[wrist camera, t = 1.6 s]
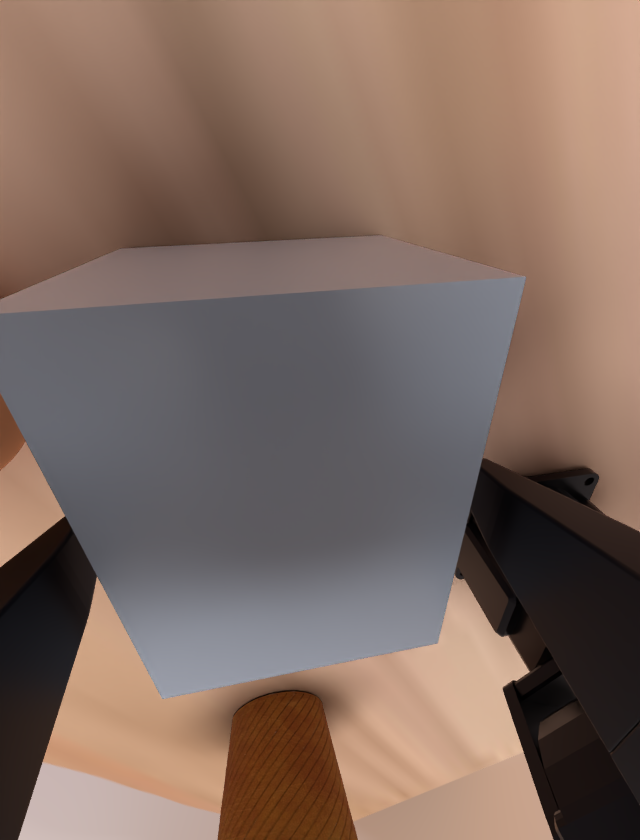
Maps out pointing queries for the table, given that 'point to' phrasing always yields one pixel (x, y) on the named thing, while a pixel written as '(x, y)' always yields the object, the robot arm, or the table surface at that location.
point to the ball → (8, 435)
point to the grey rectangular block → (263, 440)
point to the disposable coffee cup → (283, 774)
